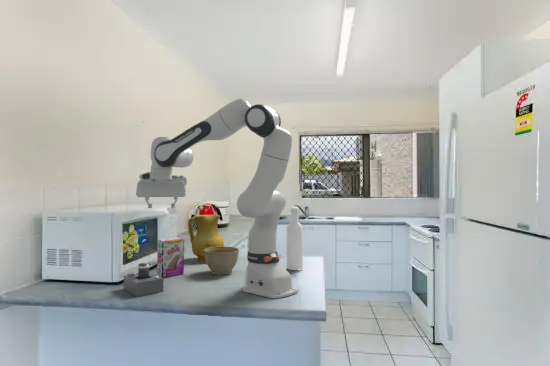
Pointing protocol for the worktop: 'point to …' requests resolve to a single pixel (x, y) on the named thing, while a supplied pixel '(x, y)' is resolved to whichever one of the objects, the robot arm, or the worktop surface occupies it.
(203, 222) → the pitcher
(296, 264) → the bottle
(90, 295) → the worktop surface
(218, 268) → the planter bowl
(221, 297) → the worktop surface
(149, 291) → the block
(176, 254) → the candy bar box
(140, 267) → the lens
